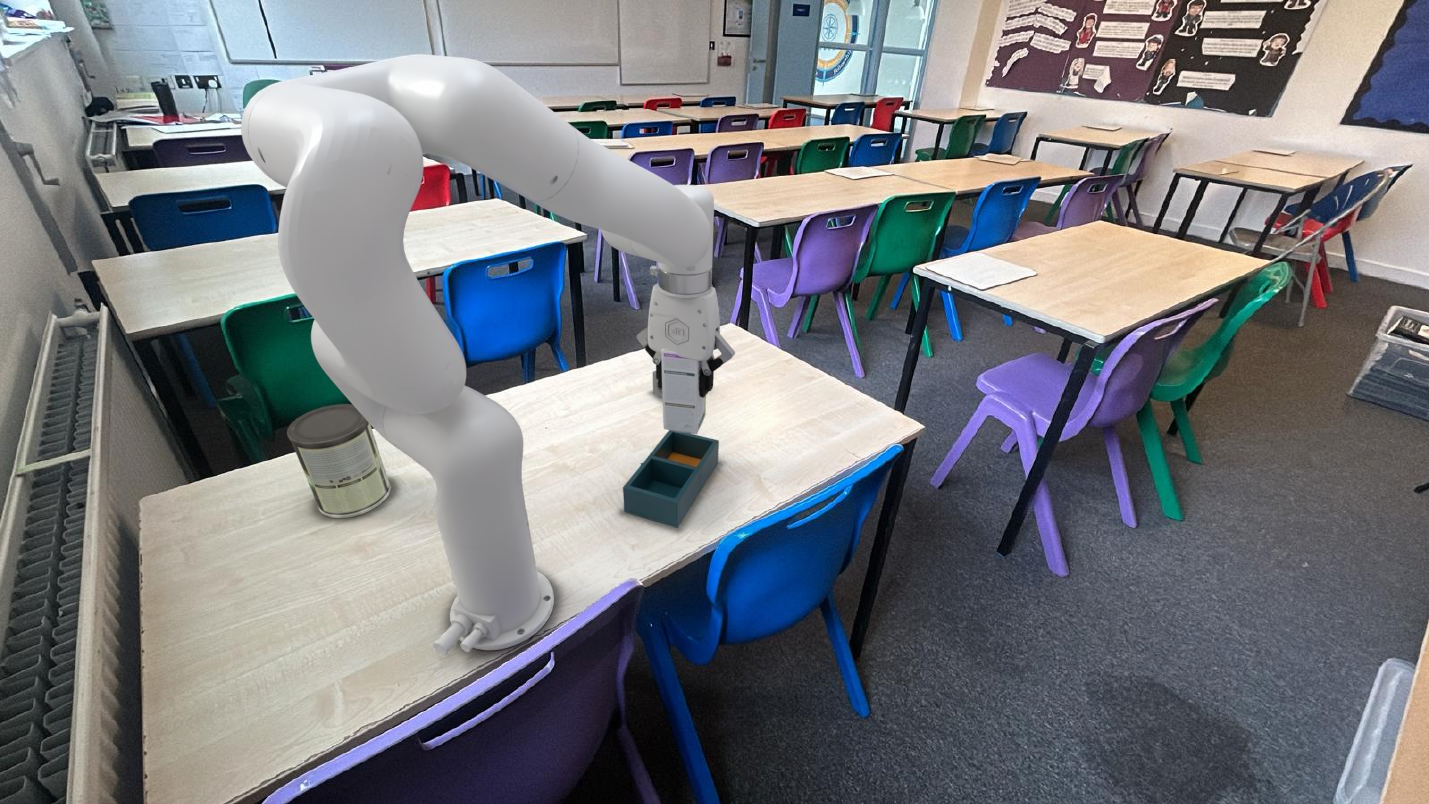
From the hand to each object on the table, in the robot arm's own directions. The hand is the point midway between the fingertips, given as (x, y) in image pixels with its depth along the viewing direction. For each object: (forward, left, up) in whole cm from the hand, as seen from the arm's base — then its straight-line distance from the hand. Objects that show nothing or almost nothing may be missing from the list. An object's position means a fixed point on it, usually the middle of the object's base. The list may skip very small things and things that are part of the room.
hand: (684, 387), depth 94 cm
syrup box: (0, 0, -7) cm, 7 cm away
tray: (-4, 0, -17) cm, 17 cm away
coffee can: (-26, +45, -17) cm, 55 cm away
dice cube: (+23, +13, -17) cm, 31 cm away
